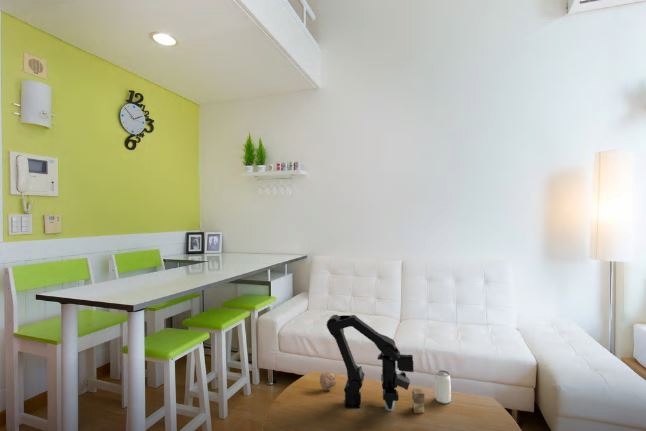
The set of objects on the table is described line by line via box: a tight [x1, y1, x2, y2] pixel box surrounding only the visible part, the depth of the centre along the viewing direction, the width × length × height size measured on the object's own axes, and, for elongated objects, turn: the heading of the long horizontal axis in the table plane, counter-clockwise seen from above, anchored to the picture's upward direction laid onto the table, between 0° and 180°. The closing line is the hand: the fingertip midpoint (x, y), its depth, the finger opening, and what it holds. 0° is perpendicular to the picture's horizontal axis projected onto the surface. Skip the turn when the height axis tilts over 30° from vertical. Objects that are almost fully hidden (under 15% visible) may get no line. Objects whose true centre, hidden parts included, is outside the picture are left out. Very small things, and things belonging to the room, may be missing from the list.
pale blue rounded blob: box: [384, 400, 395, 412], centre depth 145 cm, size 4×4×4 cm
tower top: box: [411, 388, 426, 404], centre depth 144 cm, size 4×4×4 cm
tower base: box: [412, 399, 425, 414], centre depth 144 cm, size 4×4×4 cm
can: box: [434, 369, 452, 405], centre depth 151 cm, size 6×6×12 cm
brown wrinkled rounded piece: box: [319, 371, 337, 391], centre depth 162 cm, size 8×6×8 cm
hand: (389, 406), depth 145 cm, fingers closed on pale blue rounded blob, 4 cm apart
